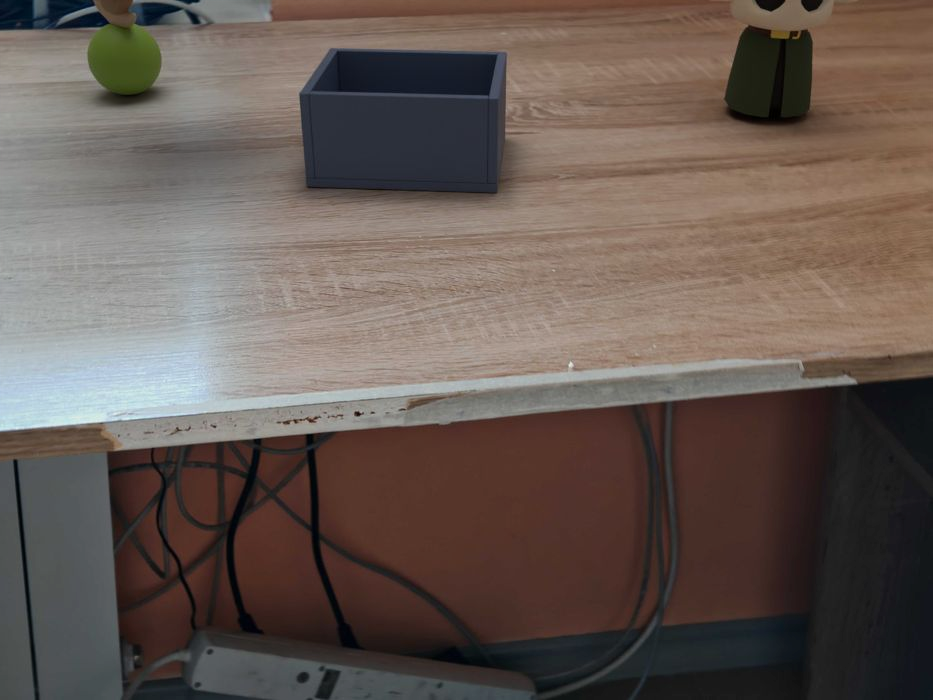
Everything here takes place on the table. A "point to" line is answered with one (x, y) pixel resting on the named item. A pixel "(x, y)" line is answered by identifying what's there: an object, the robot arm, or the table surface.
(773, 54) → the green robed panda doll
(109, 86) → the figurine on green ball
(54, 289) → the table surface
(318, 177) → the box
